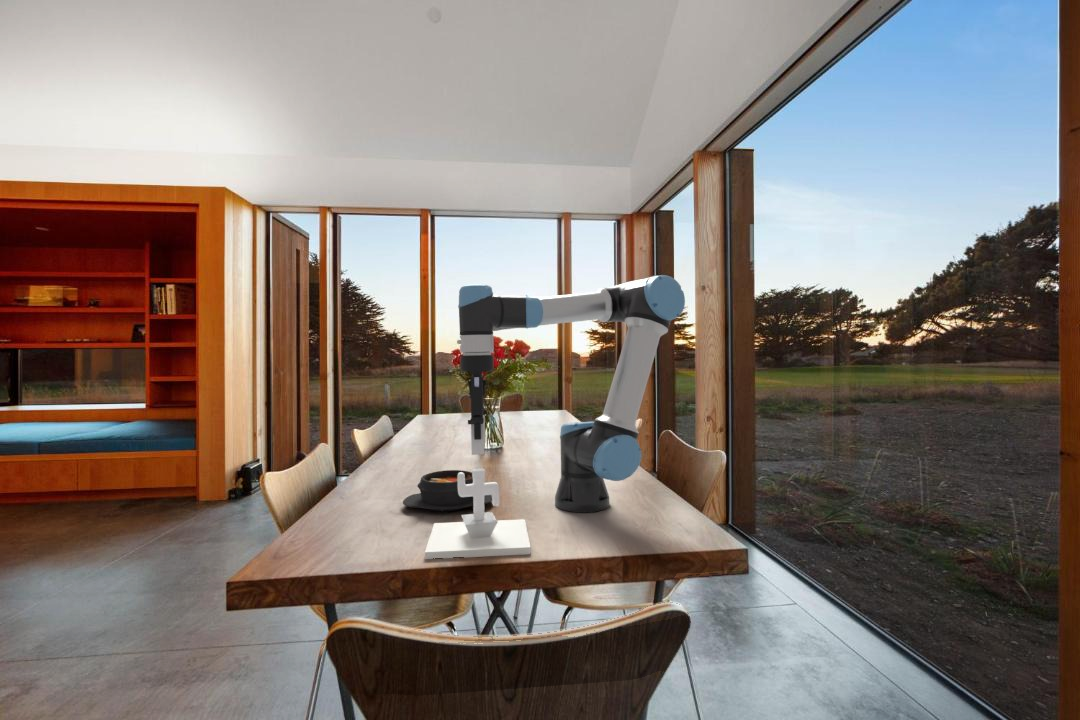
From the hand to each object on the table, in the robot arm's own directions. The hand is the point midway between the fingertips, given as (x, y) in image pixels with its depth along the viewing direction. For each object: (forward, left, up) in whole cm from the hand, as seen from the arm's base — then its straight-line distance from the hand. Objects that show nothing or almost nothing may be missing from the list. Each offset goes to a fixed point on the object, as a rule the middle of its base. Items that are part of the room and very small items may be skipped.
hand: (478, 448), depth 116 cm
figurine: (0, 0, -20) cm, 20 cm away
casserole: (+9, -28, -21) cm, 36 cm away
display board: (0, 0, -21) cm, 21 cm away
